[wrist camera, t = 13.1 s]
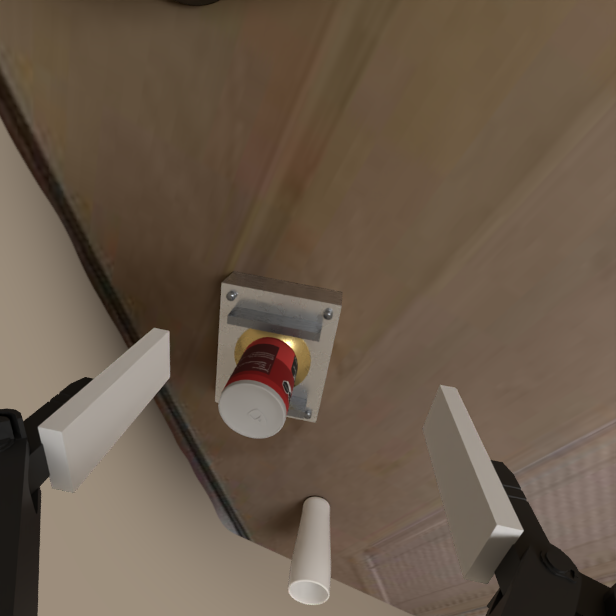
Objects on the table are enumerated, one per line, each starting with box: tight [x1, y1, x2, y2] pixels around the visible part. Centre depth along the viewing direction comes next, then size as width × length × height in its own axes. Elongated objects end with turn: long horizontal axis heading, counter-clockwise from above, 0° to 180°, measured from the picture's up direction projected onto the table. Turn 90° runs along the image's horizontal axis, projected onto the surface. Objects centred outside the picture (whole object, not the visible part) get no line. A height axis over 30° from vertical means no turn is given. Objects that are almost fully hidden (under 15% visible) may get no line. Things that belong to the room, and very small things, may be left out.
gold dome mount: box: [215, 271, 342, 423], centre depth 49 cm, size 20×16×8 cm
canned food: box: [218, 337, 298, 438], centre depth 42 cm, size 8×8×11 cm
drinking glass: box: [288, 497, 331, 605], centre depth 59 cm, size 7×7×15 cm
